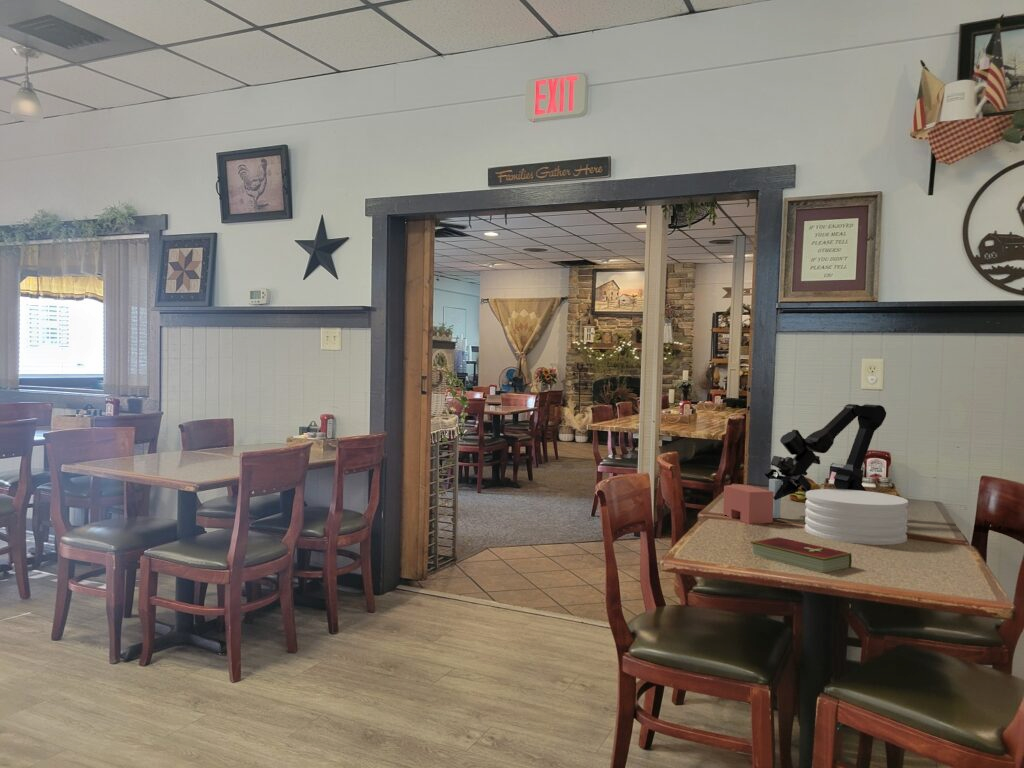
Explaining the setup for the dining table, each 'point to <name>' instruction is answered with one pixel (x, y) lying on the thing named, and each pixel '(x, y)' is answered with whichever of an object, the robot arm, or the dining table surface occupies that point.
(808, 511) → the plate stack
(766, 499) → the block
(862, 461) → the robot arm
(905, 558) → the dining table surface
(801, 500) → the cheeseburger
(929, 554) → the dining table surface
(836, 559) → the hardcover book
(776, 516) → the light blue l-shaped piece
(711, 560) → the dining table surface
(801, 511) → the dining table surface
